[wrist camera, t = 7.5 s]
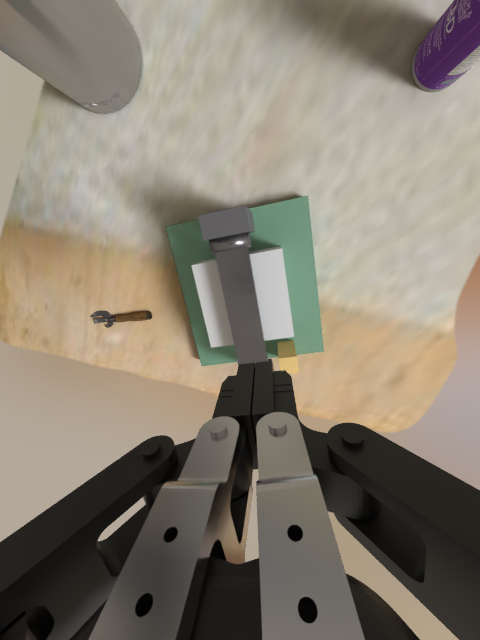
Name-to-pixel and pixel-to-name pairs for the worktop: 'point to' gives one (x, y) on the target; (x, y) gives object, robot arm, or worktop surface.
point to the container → (449, 47)
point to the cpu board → (296, 268)
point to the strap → (240, 296)
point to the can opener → (121, 317)
